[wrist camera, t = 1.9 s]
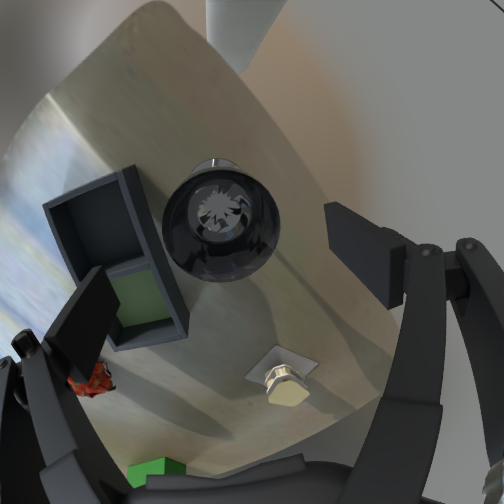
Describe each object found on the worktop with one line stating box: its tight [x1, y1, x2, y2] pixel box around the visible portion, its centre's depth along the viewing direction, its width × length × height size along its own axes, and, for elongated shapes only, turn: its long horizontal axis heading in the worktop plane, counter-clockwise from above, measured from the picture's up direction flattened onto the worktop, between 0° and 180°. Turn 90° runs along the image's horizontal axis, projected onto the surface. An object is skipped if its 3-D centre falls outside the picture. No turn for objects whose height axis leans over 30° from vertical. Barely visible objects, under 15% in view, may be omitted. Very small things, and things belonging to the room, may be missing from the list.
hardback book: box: [127, 457, 186, 488], centre depth 47 cm, size 18×7×24 cm, turn 127°
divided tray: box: [42, 164, 190, 352], centre depth 31 cm, size 11×21×5 cm, turn 13°
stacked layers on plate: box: [244, 345, 319, 407], centre depth 43 cm, size 10×9×6 cm
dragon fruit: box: [68, 362, 117, 398], centre depth 36 cm, size 8×8×12 cm
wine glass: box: [162, 159, 280, 282], centre depth 25 cm, size 8×8×15 cm
